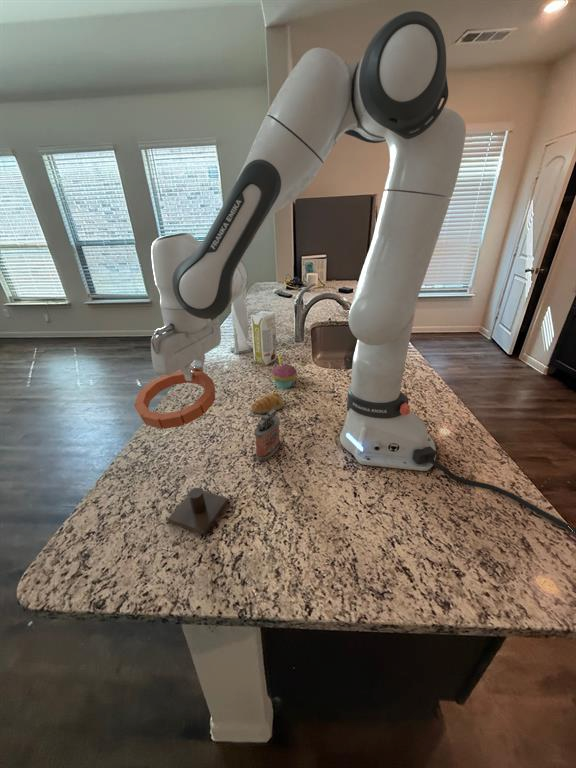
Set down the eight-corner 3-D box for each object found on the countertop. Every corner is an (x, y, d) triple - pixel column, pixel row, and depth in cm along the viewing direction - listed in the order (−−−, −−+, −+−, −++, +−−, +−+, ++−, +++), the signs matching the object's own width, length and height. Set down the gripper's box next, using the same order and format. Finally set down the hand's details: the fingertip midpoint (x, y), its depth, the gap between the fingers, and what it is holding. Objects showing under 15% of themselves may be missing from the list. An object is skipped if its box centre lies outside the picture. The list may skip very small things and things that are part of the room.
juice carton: (279, 358, 126) (277, 312, 117) (266, 366, 119) (264, 317, 111) (264, 355, 129) (261, 309, 121) (251, 362, 123) (247, 314, 114)
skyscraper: (230, 347, 138) (223, 282, 125) (247, 345, 141) (242, 280, 128) (235, 354, 131) (228, 285, 118) (253, 351, 134) (249, 283, 121)
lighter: (264, 462, 72) (262, 426, 67) (252, 457, 73) (249, 422, 69) (283, 443, 78) (282, 409, 73) (272, 439, 79) (270, 405, 75)
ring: (228, 384, 72) (225, 375, 70) (187, 435, 60) (184, 426, 59) (170, 374, 77) (167, 365, 75) (123, 419, 65) (118, 410, 64)
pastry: (260, 418, 88) (259, 407, 86) (247, 409, 92) (246, 397, 91) (286, 407, 93) (285, 396, 91) (272, 398, 98) (272, 387, 96)
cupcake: (267, 388, 103) (265, 354, 98) (278, 377, 110) (276, 345, 105) (291, 392, 101) (291, 358, 95) (300, 381, 108) (300, 349, 102)
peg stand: (228, 501, 62) (225, 483, 59) (205, 535, 55) (201, 516, 53) (194, 491, 64) (191, 472, 62) (168, 522, 58) (163, 503, 55)
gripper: (163, 334, 57) (177, 400, 63) (222, 308, 74) (228, 361, 80) (136, 331, 59) (152, 395, 65) (200, 306, 76) (207, 358, 82)
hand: (194, 376), depth 73 cm, fingers closed on ring, 2 cm apart
